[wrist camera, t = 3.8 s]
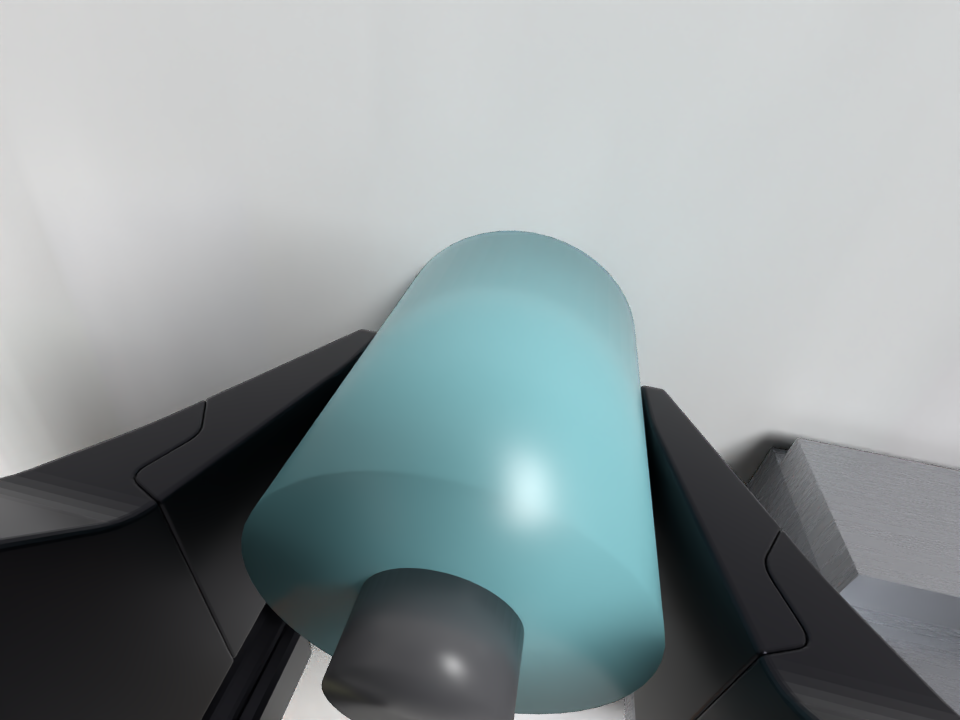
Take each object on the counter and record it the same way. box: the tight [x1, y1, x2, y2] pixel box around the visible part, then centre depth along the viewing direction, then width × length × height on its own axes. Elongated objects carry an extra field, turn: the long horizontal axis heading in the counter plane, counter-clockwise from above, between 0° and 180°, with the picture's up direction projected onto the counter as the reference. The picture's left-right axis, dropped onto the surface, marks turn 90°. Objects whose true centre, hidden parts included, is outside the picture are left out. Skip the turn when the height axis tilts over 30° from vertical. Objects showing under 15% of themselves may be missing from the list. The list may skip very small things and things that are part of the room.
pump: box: [241, 231, 665, 720], centre depth 8 cm, size 5×5×7 cm
